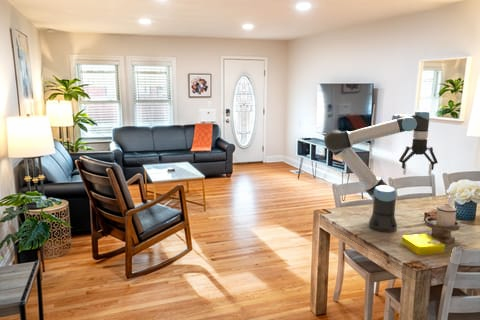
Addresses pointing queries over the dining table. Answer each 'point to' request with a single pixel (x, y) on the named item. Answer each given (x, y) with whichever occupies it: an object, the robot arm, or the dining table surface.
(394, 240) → the dining table surface
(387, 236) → the dining table surface
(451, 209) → the teacup with lid
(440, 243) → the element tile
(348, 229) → the dining table surface
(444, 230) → the walnut pedestal
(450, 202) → the figurine
